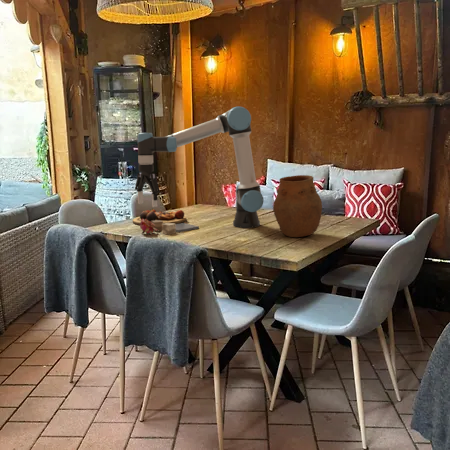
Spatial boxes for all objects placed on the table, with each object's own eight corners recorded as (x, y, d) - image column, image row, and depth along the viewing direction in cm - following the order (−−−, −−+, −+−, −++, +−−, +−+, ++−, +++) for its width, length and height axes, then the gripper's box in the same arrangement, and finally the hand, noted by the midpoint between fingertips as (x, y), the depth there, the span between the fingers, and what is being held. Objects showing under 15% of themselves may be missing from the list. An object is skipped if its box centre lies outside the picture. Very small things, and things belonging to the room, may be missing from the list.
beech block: (175, 233, 228) (175, 223, 227) (168, 234, 224) (168, 225, 223) (168, 231, 231) (168, 222, 230) (162, 233, 227) (161, 224, 226)
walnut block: (163, 230, 234) (162, 221, 233) (154, 231, 232) (154, 222, 231) (160, 228, 239) (159, 220, 238) (151, 229, 237) (151, 220, 236)
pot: (262, 234, 222) (263, 176, 216) (295, 228, 236) (296, 173, 230) (297, 243, 203) (299, 179, 197) (330, 235, 217) (333, 176, 211)
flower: (137, 233, 220) (146, 220, 219) (133, 226, 227) (142, 214, 227) (152, 241, 225) (161, 229, 224) (148, 234, 232) (156, 222, 232)
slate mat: (198, 228, 238) (198, 226, 238) (178, 232, 229) (178, 230, 229) (183, 225, 248) (183, 223, 248) (163, 228, 239) (163, 226, 239)
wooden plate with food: (195, 219, 269) (195, 205, 267) (168, 228, 240) (167, 213, 239) (152, 216, 282) (151, 204, 280) (121, 225, 253) (120, 211, 252)
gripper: (166, 164, 213) (167, 207, 217) (139, 162, 231) (141, 202, 235) (153, 165, 208) (154, 208, 212) (127, 163, 226) (129, 203, 230)
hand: (147, 205), depth 224 cm, fingers open, 13 cm apart
